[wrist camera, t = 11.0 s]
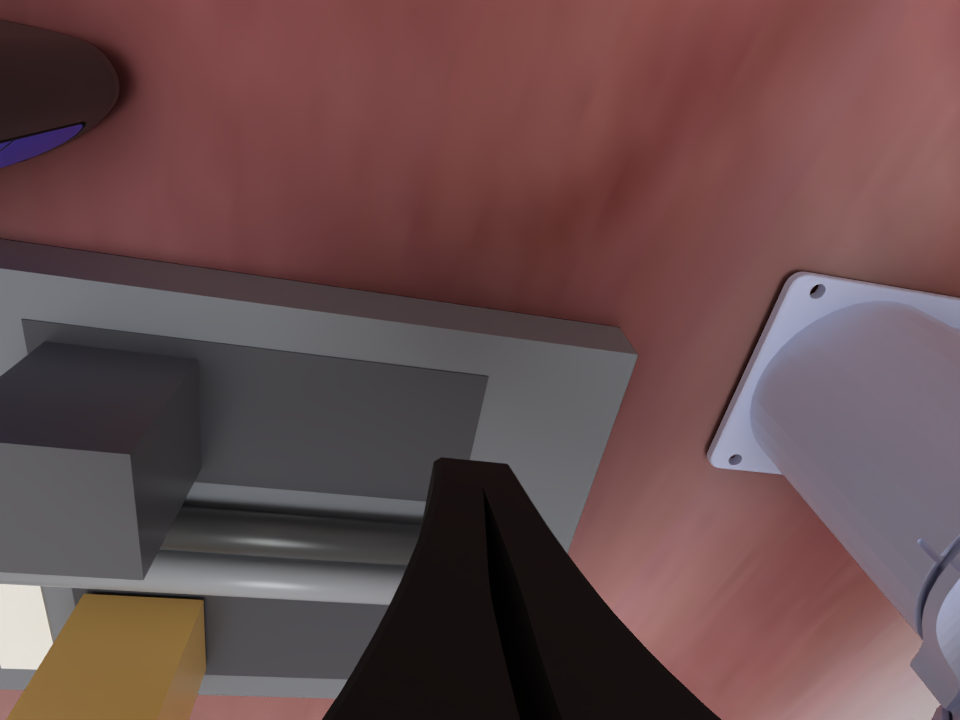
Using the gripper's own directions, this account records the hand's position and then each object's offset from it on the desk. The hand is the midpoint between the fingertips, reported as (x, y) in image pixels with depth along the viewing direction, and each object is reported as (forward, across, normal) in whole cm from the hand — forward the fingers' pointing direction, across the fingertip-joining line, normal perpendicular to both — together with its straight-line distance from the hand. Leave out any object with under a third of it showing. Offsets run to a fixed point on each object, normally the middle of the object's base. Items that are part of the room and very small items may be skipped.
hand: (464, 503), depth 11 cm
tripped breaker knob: (+7, +9, +14) cm, 18 cm away
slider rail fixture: (+9, +5, +9) cm, 14 cm away
